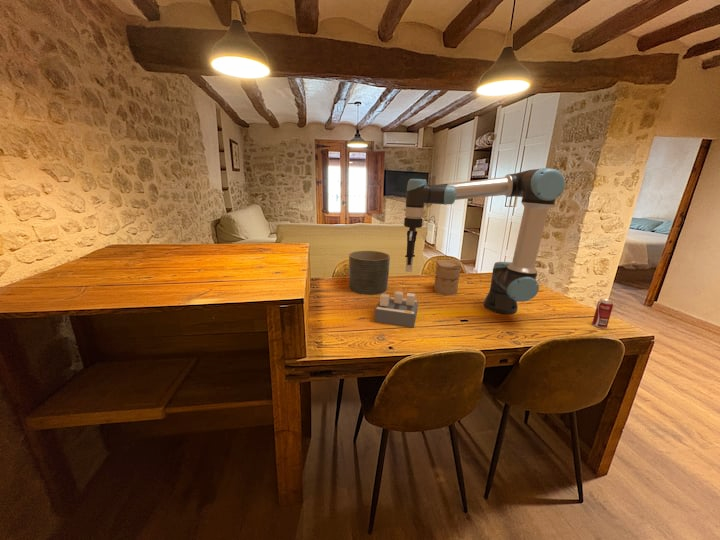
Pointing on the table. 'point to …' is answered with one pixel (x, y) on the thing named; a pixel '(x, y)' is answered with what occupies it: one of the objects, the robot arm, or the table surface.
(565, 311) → the table surface
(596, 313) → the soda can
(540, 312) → the table surface
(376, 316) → the switch bank
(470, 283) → the table surface
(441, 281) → the container
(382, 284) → the planter
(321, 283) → the table surface
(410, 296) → the slider right
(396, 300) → the slider mid
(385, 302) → the block
